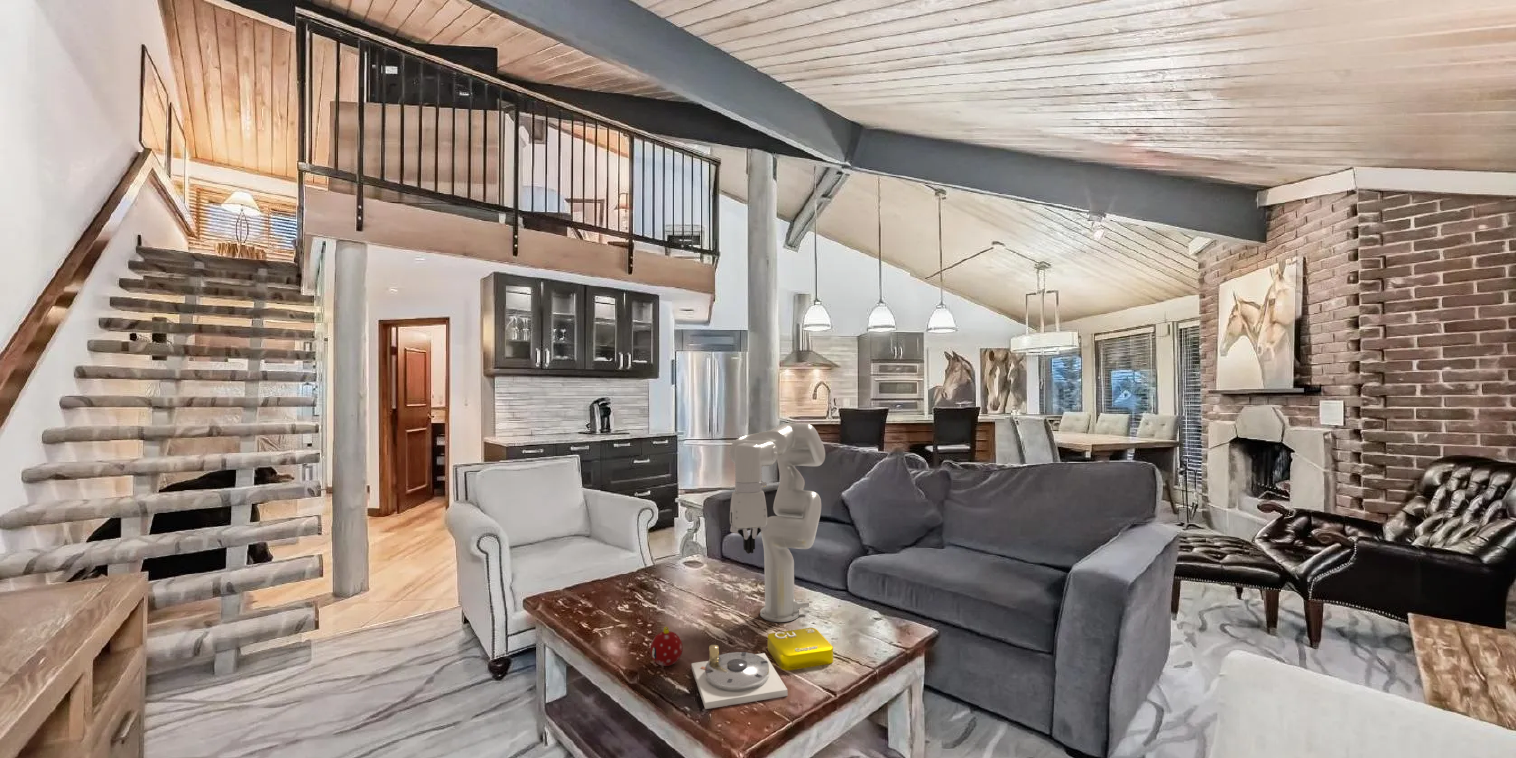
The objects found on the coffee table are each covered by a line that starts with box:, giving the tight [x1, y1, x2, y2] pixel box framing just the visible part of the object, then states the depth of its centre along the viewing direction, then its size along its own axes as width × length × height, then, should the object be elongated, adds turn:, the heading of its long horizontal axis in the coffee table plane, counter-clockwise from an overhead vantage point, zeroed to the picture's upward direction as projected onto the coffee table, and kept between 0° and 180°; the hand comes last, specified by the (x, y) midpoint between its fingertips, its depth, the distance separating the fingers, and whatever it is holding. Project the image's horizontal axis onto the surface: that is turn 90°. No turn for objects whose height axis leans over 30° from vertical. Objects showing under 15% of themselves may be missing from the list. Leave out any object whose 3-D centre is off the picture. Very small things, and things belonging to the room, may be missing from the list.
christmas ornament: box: [649, 626, 684, 667], centre depth 160 cm, size 9×9×10 cm
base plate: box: [690, 652, 789, 710], centre depth 150 cm, size 20×20×2 cm
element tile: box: [767, 627, 834, 671], centre depth 165 cm, size 15×15×5 cm
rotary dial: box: [705, 644, 769, 691], centre depth 150 cm, size 16×16×6 cm
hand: (749, 552), depth 169 cm, fingers closed
